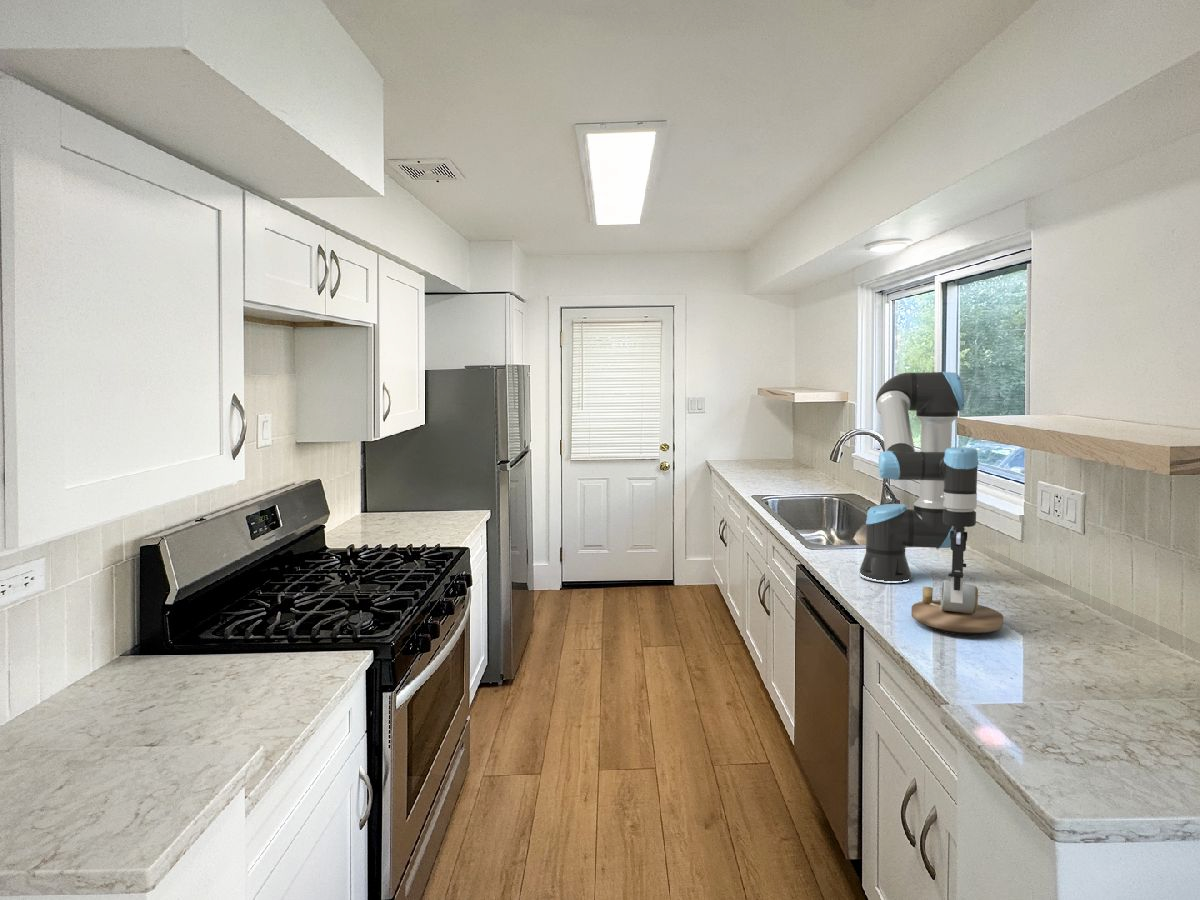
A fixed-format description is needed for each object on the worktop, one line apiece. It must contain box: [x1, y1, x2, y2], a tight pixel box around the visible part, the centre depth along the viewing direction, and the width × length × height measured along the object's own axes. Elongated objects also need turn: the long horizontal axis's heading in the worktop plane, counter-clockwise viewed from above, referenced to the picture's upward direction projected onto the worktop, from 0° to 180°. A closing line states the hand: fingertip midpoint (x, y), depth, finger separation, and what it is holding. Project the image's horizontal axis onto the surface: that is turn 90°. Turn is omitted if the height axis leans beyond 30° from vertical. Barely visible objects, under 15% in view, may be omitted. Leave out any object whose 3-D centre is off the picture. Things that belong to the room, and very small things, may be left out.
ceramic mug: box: [940, 579, 979, 613], centre depth 189 cm, size 11×8×8 cm
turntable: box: [910, 586, 1004, 633], centre depth 188 cm, size 21×21×6 cm
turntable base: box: [928, 626, 986, 636], centre depth 188 cm, size 14×14×2 cm
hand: (956, 597), depth 188 cm, fingers open, 9 cm apart
